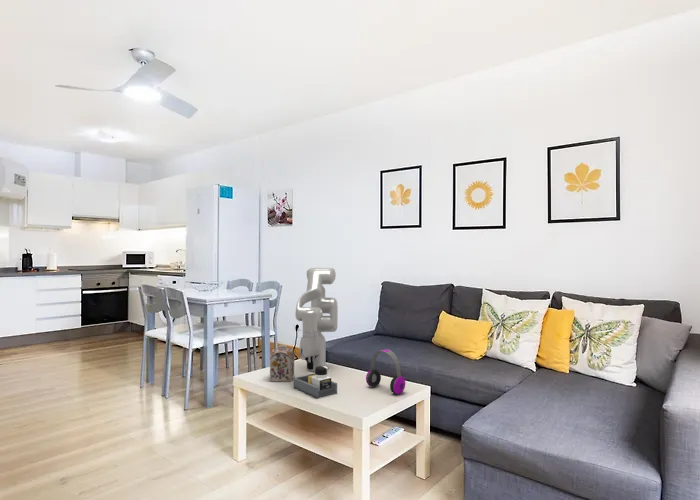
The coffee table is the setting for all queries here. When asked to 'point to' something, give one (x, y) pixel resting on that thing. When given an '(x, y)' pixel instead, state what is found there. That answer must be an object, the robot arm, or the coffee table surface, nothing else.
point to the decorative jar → (282, 364)
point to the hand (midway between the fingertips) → (310, 369)
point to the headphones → (375, 377)
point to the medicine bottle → (321, 378)
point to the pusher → (310, 378)
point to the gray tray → (313, 387)
